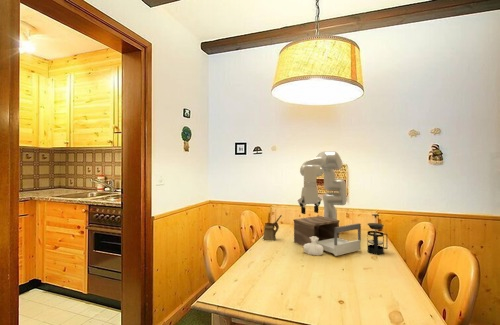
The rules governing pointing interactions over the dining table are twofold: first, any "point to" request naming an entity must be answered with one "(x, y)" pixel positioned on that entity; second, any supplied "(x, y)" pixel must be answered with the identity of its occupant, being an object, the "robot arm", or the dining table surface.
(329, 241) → the pull-out tray
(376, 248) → the french press
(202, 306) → the dining table surface
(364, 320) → the dining table surface
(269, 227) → the wooden mug
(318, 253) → the white tied sack
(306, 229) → the walnut cabinet
